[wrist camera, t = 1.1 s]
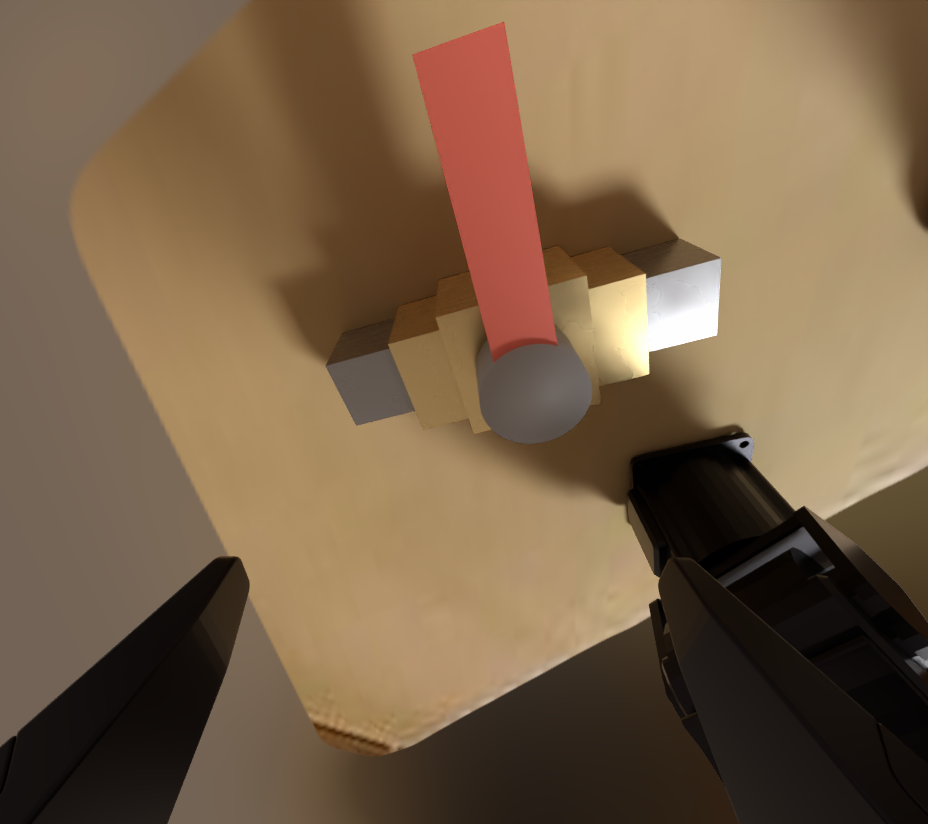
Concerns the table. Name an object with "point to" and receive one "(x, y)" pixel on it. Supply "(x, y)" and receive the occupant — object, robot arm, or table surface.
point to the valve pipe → (574, 312)
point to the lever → (501, 239)
